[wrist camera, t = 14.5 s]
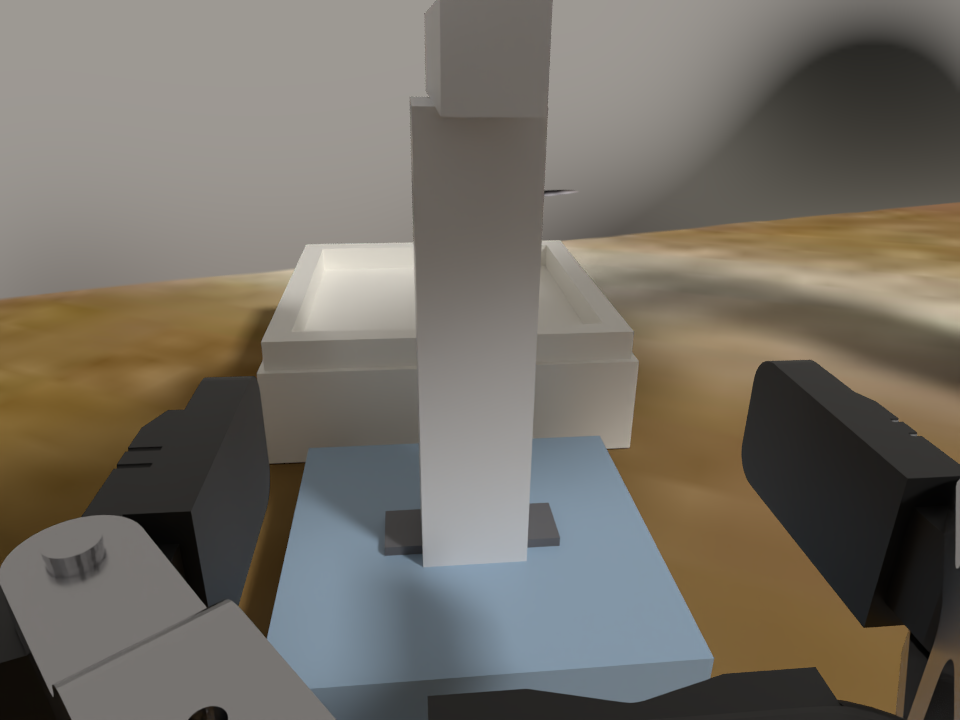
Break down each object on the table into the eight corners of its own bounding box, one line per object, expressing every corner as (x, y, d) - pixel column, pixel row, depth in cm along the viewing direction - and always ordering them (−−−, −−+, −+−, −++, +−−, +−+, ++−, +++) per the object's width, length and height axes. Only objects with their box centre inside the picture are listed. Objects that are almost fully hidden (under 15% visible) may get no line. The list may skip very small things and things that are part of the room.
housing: (558, 322, 44) (563, 239, 42) (629, 447, 30) (642, 333, 28) (310, 329, 43) (302, 243, 41) (268, 463, 29) (253, 345, 27)
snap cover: (595, 479, 28) (637, 19, 22) (702, 716, 18) (839, -2, 12) (313, 493, 27) (266, 13, 21) (264, 752, 17) (143, -15, 11)
